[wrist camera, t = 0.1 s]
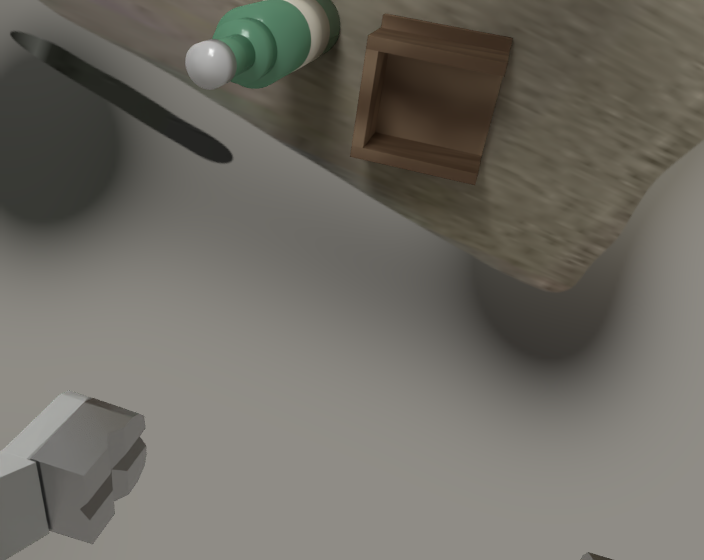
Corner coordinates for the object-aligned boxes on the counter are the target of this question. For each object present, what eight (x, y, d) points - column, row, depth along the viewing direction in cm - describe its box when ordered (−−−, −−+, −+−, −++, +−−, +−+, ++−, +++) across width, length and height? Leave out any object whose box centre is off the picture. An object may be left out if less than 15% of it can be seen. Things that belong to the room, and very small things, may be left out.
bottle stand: (385, 13, 52) (370, 21, 47) (513, 38, 50) (511, 49, 45) (364, 147, 58) (348, 167, 53) (476, 172, 56) (472, 195, 51)
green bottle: (284, -16, 52) (163, 8, 35) (344, -4, 52) (251, 26, 34) (279, 50, 55) (165, 102, 38) (336, 61, 55) (246, 121, 37)
